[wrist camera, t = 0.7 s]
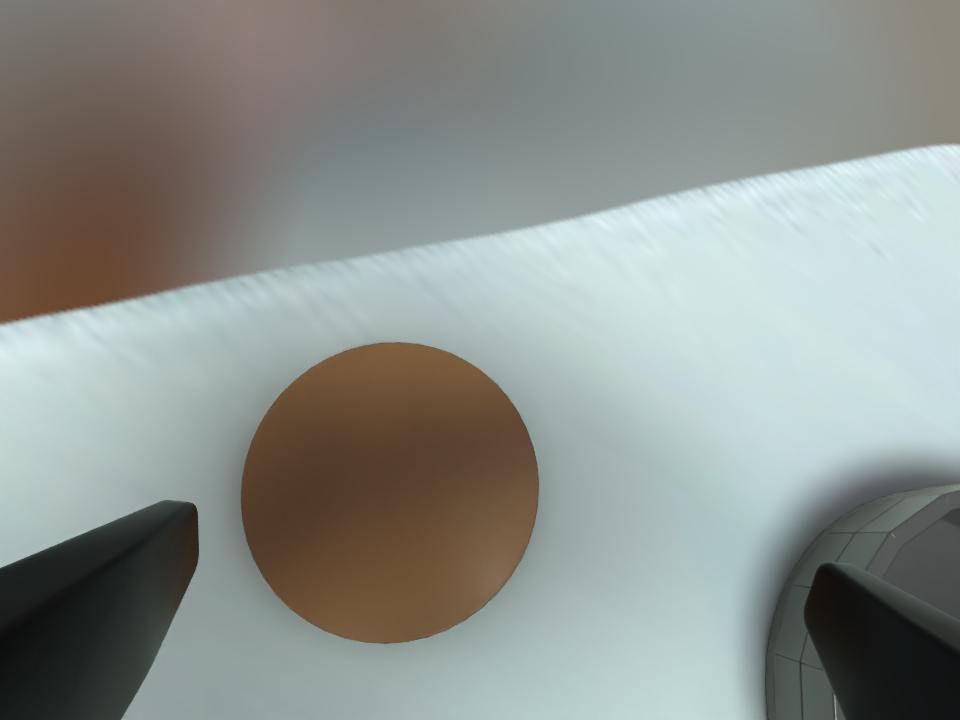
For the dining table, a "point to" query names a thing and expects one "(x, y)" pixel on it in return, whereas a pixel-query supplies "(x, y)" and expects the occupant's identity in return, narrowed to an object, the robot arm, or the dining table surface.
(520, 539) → the disc
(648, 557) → the dining table surface
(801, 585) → the pan
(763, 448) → the dining table surface
